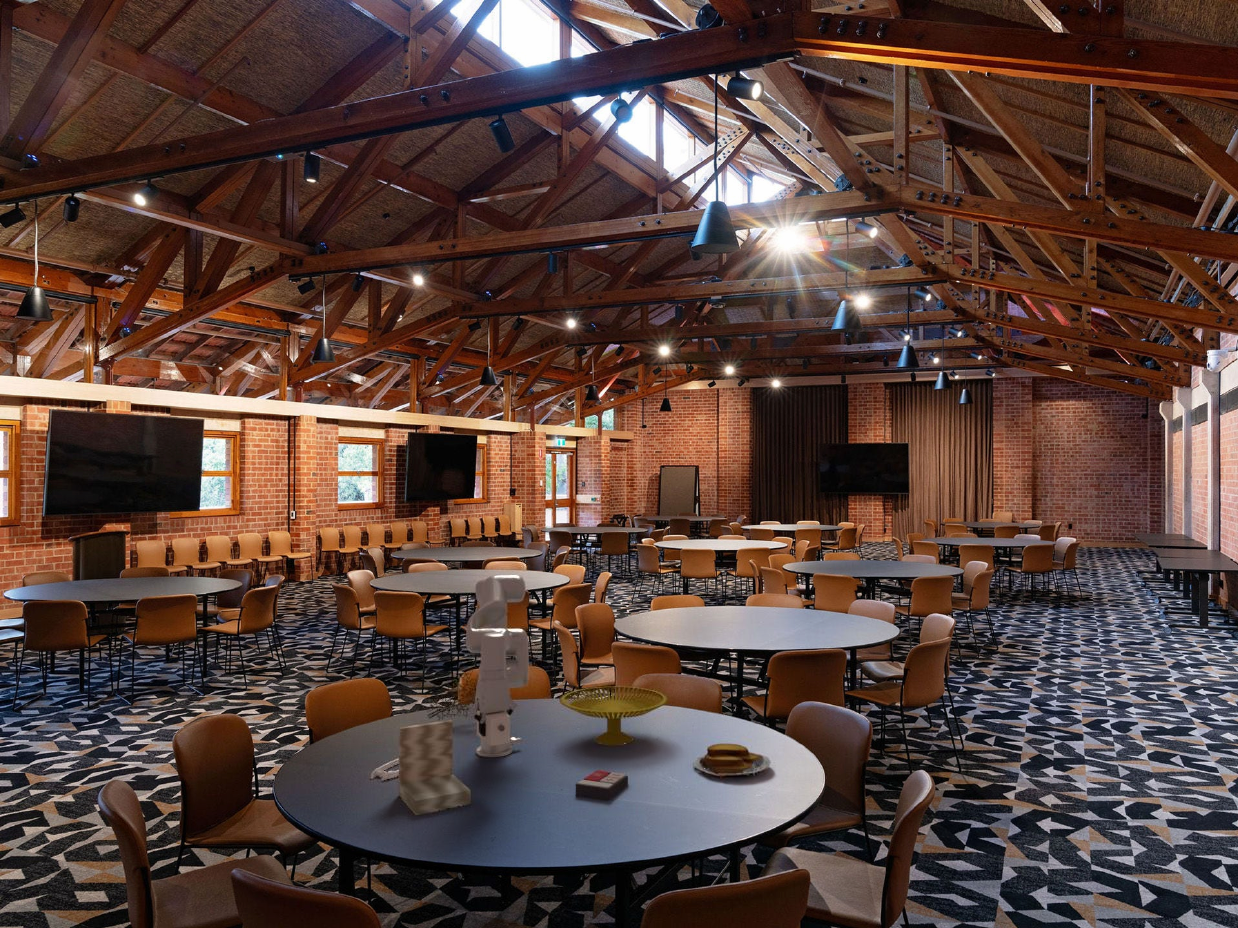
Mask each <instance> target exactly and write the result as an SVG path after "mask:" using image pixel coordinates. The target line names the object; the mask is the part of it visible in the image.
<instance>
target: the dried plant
mask: <svg viewBox="0 0 1238 928" xmlns="http://www.w3.org/2000/svg"><path fill="white" fill-rule="evenodd" d="M475 660H476V661H475ZM475 660H473V662H472V664H473V665H472V667H474V666H476V664H477V661H479V657H478V656H476V659H475ZM530 665H531V666H533V664H532V663H530ZM472 669H473V668H470V669H469V671H468V672H462V673H460V676H458V678H457V679H455V683H454V682H453V683H452V685H453V686H452V685H450V684H449V683H450V682H449V681H447V683H446V688H444V690H443V692H442V693H441V690H440V689H439V690H438V691H439V693H435V698H434V699H435V700H434V704H430V703H429V707H428V708H426V710H427V713H429V712H431V711H432V712H431V713H429V714H427V715H426V716H427V717H426V719H428V720H429V719H431V718H434V717H435V716H436V718H437V720H438V721H437V722H440V720H441V719H442V720H441V721H444V718H445V717H447V718H451V719H453V718H452V717H453V716H454V717H456V716H457V717H460V716H462V717H465V718H468V716H469V717H470V718H473V716H472V715H471V716H470V715H469V713H467V711H469V710H470V709H471V708H472V706H473V705H474V704H475V697H476V688H477V683H478V680H477V678H479V676H478V674H477V676H476V677H477V678H474V679H473V678H470V677H471V676H472V673H473V672H474V670H472ZM470 671H472V672H471V673H470ZM461 675H463V676H461ZM465 676H466V679H465ZM468 676H469V677H468ZM460 678H461V680H460ZM461 681H462V682H463V683H462V685H464V686H462V685H461V684H460V682H461ZM464 681H465V682H464ZM474 681H475V682H474ZM469 686H470V687H469ZM450 687H451V688H450ZM459 687H460V688H462V689H461V690H460V688H459ZM467 688H469V691H468V690H467ZM454 691H455V692H454ZM462 692H463V693H462ZM461 693H462V694H461ZM443 694H444V695H443ZM447 696H448V697H447ZM458 696H460V697H461V698H460V699H457V698H458ZM464 699H467V700H466V701H465V700H464ZM452 700H454V701H453V702H452ZM462 700H463V701H462ZM441 701H442V702H441ZM471 703H472V704H471ZM435 705H436V707H435ZM470 705H472V706H471V707H470ZM438 707H439V708H438ZM430 708H431V709H430ZM429 709H430V710H429ZM435 709H436V710H435ZM433 710H434V711H433ZM451 711H452V712H451ZM450 712H451V713H450ZM453 712H454V713H453ZM475 712H477V710H476V711H475ZM461 713H462V714H461ZM459 714H460V715H459Z"/></svg>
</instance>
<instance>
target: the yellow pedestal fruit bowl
mask: <svg viewBox="0 0 1238 928" xmlns="http://www.w3.org/2000/svg"><path fill="white" fill-rule="evenodd" d="M605 690H606V691H605ZM601 692H602V693H601ZM610 692H611V693H610ZM640 692H641V693H640ZM614 693H615V694H614ZM606 694H607V695H606ZM610 694H611V695H610ZM618 694H619V695H618ZM622 695H623V696H622ZM630 695H631V696H630ZM558 701H559V702H560V704H561V705H563V706H564V707H566V708H568V709H570V710H572V711H575V712H577V713H579V714H580V715H584V716H587V717H592V718H598V719H599V718H601V719H603V718H604V719H606V721H607V722H606V732H603V733H602V734H600V735H598V736H596V737H595V738H594V741H595V742H596V743H597V744H599V743H601V744H600V745H603V744H604V746H613V745H614V746H622V745H621V744H624V743H628V744H630V743H629V742H630V741H632V739H633V740H634V738H633V736H631V735H629V734H626V733H625V732H623V731H622V718H624V719H626V718H628V719H629V718H633V717H634V718H635V717H640V716H644V715H646V714H648V713H650V712H652V711H654V710H655V711H656V709H659V708H661V707H663V706H665V705H666V704H667V703H668V702H669V697H668V696H667V695H666V694H664V693H662V692H659V691H656V690H653V689H649V688H644V687H635V686H620V685H619V686H618V685H617V686H615V685H614V686H598V687H596V686H595V687H586V688H581V689H577V690H573V691H570V692H567V693H564V694H562V695H561V696H560V697H559V699H558ZM632 742H633V741H632Z"/></svg>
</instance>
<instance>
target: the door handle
mask: <svg viewBox="0 0 1238 928" xmlns="http://www.w3.org/2000/svg"><path fill="white" fill-rule="evenodd" d="M397 764H399V758H396V759H394V760H391V761H389V762H387V763H384V764H383V765H381V766H379V767H377V768H375V769H374V770H372V772H371V775H370V779H371V780H373V779H374V778H377V777H379V778H381V779H380V782H384V780H385V781H387V779H390V780H392V779H391V778H394V777H395V778H398V777H399V769H398V770H389V769H388V768H390V767H392V768H394V767H395V766H394V765H397ZM393 766H394V767H393ZM397 766H398V765H397ZM387 769H388V770H389V771H387ZM390 769H391V768H390ZM384 770H386V771H384ZM376 776H377V777H376ZM397 776H398V777H397ZM395 778H394V779H395Z"/></svg>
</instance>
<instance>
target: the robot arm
mask: <svg viewBox="0 0 1238 928" xmlns="http://www.w3.org/2000/svg"><path fill="white" fill-rule="evenodd" d="M525 582H526V581H525V580H524V578H523V577H522V576H521V575H492V576H489V577H487V578H485V579H481V580H479V581H477V582H476V584H475V589H474V590H475V596H476V601H477V604H478V606H479V608H478V609H476V611H475V612H473V613H472V615H471V616H470V617H469V619H468V620H467V624H466V634H465V635H466V636H465V646H466V649H467V650H468V652H470V653H471V654H480V665H479V667H478V672H477V675H478V680H477V682H478V683H476V684H477V685H476V694H475V695H476V697H474V699H475V703H474V704H472V705H473V706H471V708H470V710H468V714H469V715H471V716H472V718H473V719H474V720H476V722H477V721H479V733H480V734H481V735H482V736H483V737H484V736H486V723H484V721H485V718H486V715H487V714H488V713H495V712H501V711H502V712H505V713H506V714H508V715H509V716H510V717H511V715H512V714H513V712H514V711H515V710H516V709H517V707H518V704H517V703H516V702H515V701H514V700H513V699H512V698H511V690H510V689H512V688H523V687H526V686H527V685H528V683H529V678H530V669H529V667H530V666H529V665H530V662H529V661H530V660H529V659H530V658H529V639H528V637H529V636H528V634H527V632H526V630H524V629H522V628H508V615H507V613H508V603H522V602H523V601H524V598H525V596H526V583H525ZM507 657H514V658H515V659H507ZM476 710H477V711H480V713H479V715H477V711H476ZM520 744H522V738H521V737H518V738H517V737H510V743H505V744H500V745H494V746H491V745H489V744H488V743H487V742H485V741H484V740H483V739H481V738H480V746H478V747H477V748H476V750H475V752H476V754H477V756H480V757H483V758H501V757H504V756H508V755H510V754H512V753H513V752H514V751H513V750H514V749H513V748H514V747H513V746H514V745H520Z"/></svg>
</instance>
